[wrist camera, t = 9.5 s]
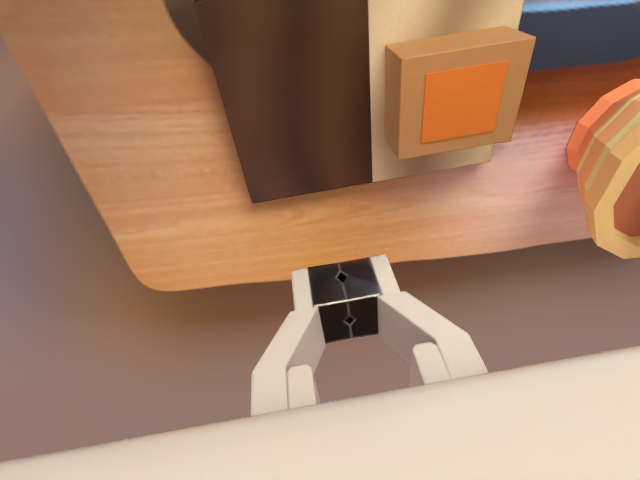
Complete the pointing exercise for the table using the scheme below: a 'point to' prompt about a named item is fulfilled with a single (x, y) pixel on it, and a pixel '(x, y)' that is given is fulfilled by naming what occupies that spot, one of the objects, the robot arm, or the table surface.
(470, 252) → the table surface
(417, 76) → the coffee packet
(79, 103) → the table surface
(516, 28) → the board
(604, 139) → the potted cactus
